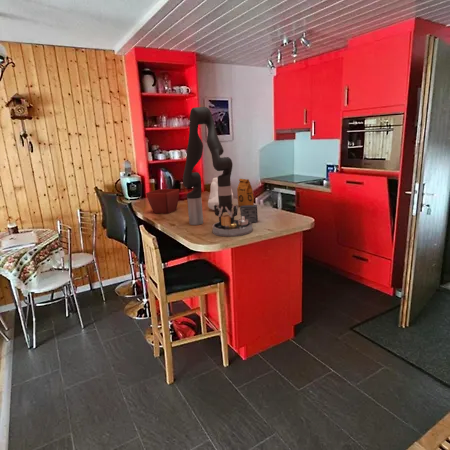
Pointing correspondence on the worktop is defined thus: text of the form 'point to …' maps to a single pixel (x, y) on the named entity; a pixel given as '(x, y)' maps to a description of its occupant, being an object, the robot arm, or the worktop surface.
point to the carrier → (233, 228)
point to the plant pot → (163, 200)
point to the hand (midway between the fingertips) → (226, 223)
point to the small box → (249, 213)
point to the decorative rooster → (214, 194)
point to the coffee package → (245, 193)
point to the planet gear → (225, 220)
